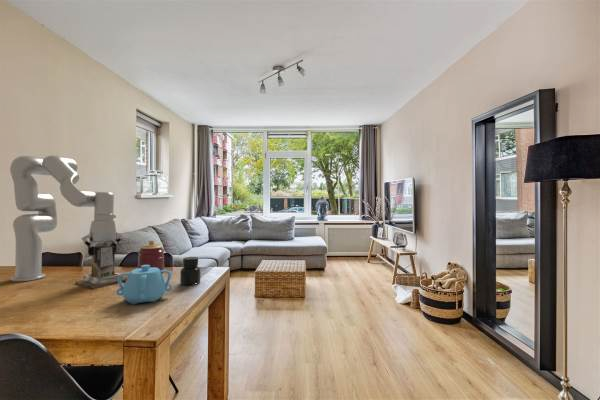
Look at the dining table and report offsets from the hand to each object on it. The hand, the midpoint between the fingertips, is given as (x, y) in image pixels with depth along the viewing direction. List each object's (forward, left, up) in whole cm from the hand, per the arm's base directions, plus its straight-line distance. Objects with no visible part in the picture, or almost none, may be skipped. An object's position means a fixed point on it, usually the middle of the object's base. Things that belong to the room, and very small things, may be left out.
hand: (102, 253), depth 140 cm
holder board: (0, 0, -14) cm, 14 cm away
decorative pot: (+40, -4, -14) cm, 43 cm away
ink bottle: (+36, +21, -14) cm, 44 cm away
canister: (+2, +23, -14) cm, 27 cm away
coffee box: (0, 0, -13) cm, 13 cm away
